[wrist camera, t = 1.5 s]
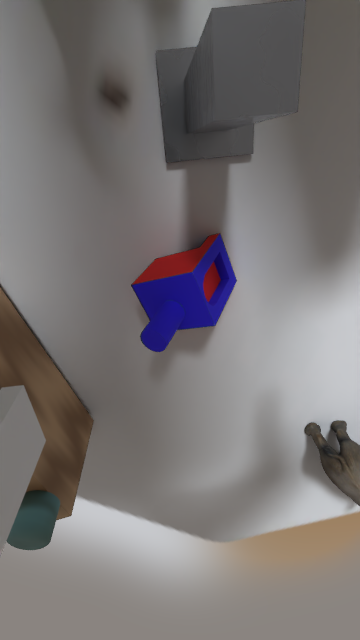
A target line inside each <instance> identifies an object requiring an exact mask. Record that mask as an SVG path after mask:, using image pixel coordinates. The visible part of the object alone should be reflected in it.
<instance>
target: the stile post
mask: <svg viewBox="0 0 360 640" xmlns="http://www.w3.org/2000/svg"><path fill="white" fill-rule="evenodd" d="M305 4H306V0H294V1H283V2H273V3H263V4H252V5H242V6H232V7H221V8H212V9H211V12H210V14H209V17H208V19H207V22H206V24H205V27H204V30H203V32H202V35H201V37H200V40H199V43H198V45H197V47H190V48H180V49H170V50H160V51H156V61H157V71H158V81H159V91H160V101H161V112H162V122H163V132H164V142H165V152H166V162H176V161H186V160H196V159H205V158H215V157H225V156H235V155H245V154H253V135H254V123H257V122H261V121H265V120H269V119H273V118H276V117H280V116H284V115H288V114H291V113H295V112H298V98H299V85H300V71H301V58H302V44H303V31H304V17H305Z"/></svg>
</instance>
